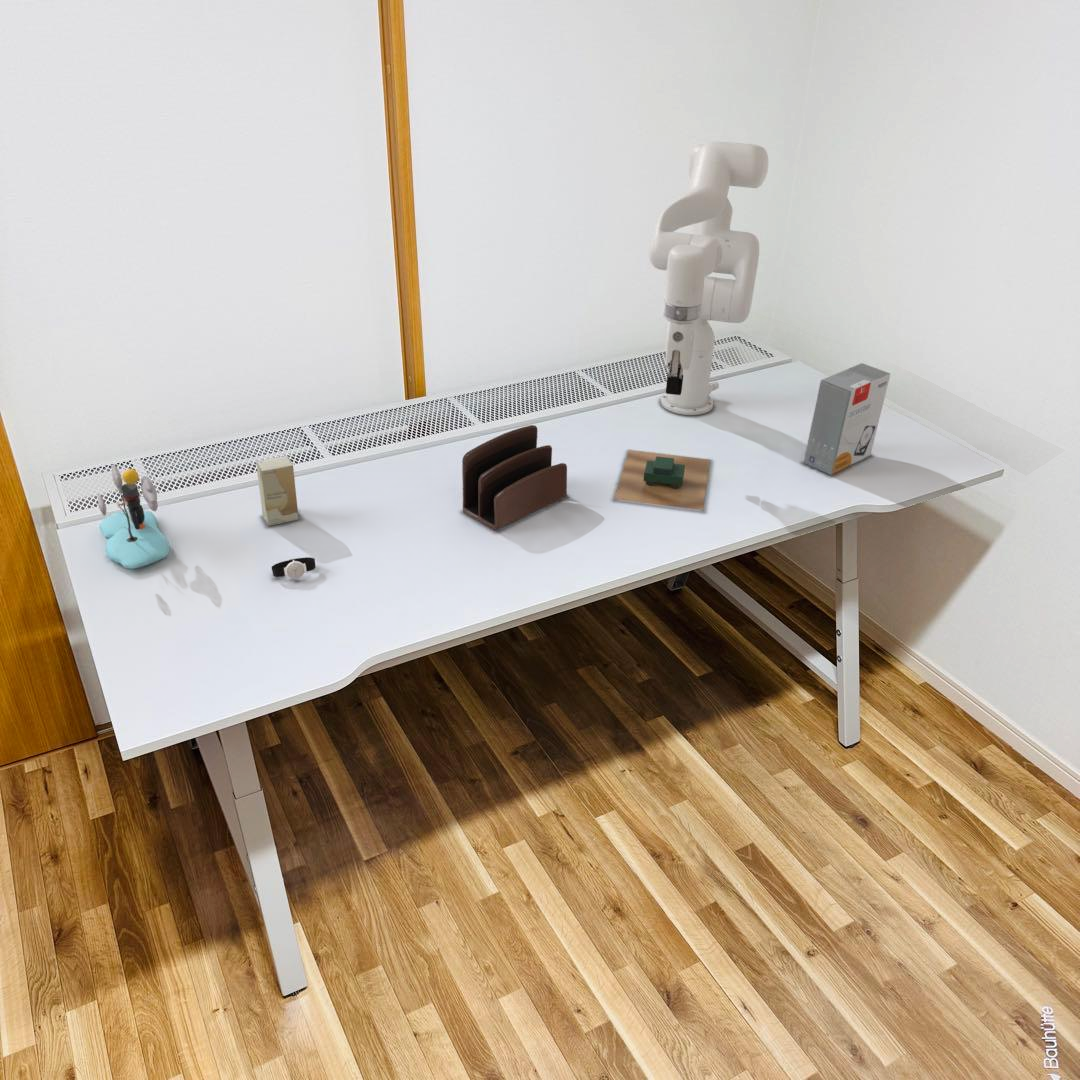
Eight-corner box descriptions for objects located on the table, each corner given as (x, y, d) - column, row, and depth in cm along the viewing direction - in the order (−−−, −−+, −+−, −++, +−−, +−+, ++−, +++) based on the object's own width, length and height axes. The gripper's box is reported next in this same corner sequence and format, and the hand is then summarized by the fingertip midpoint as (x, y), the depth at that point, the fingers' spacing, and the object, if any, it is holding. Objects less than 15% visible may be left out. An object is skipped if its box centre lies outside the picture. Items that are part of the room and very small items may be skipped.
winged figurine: (98, 524, 189) (80, 454, 181) (156, 511, 193) (141, 443, 185) (113, 579, 174) (94, 505, 166) (175, 564, 178) (160, 491, 170)
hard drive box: (831, 476, 212) (849, 391, 201) (802, 463, 216) (818, 379, 205) (872, 455, 220) (891, 372, 209) (843, 442, 225) (860, 361, 214)
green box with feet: (646, 472, 210) (642, 485, 206) (647, 454, 208) (644, 466, 203) (683, 477, 209) (681, 490, 204) (685, 458, 207) (683, 471, 202)
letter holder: (461, 512, 196) (460, 449, 188) (533, 479, 208) (534, 418, 200) (495, 532, 190) (495, 468, 182) (567, 497, 202) (570, 435, 194)
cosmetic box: (268, 527, 190) (259, 471, 183) (262, 516, 193) (253, 461, 186) (300, 519, 192) (293, 464, 185) (294, 509, 195) (287, 454, 189)
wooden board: (628, 451, 219) (628, 449, 219) (710, 461, 216) (710, 459, 216) (614, 500, 201) (614, 498, 201) (702, 512, 198) (702, 510, 198)
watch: (275, 585, 174) (272, 568, 172) (270, 570, 177) (267, 554, 175) (318, 575, 176) (316, 559, 175) (313, 561, 180) (311, 545, 178)
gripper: (698, 325, 190) (688, 410, 201) (703, 297, 202) (694, 379, 213) (659, 321, 191) (651, 406, 202) (667, 294, 203) (659, 376, 214)
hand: (673, 392), depth 207 cm, fingers closed
